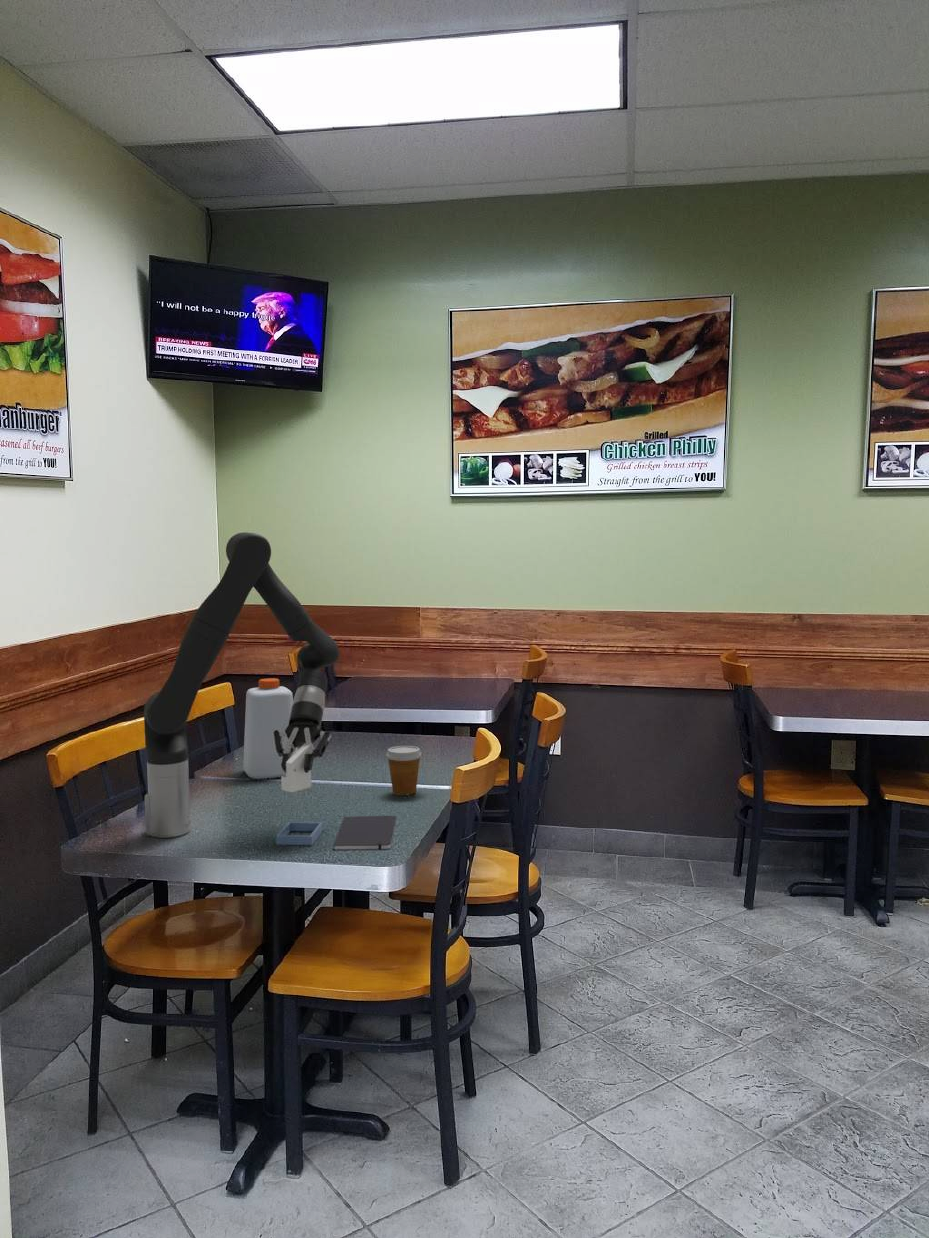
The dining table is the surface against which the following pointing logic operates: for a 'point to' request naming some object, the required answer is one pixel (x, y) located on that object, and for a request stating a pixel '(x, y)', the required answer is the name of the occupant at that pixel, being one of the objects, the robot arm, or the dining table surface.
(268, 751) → the plastic bottle
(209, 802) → the dining table surface
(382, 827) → the notebook
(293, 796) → the dining table surface
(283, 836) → the blue rectangular frame
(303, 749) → the white angled block
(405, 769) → the disposable coffee cup
